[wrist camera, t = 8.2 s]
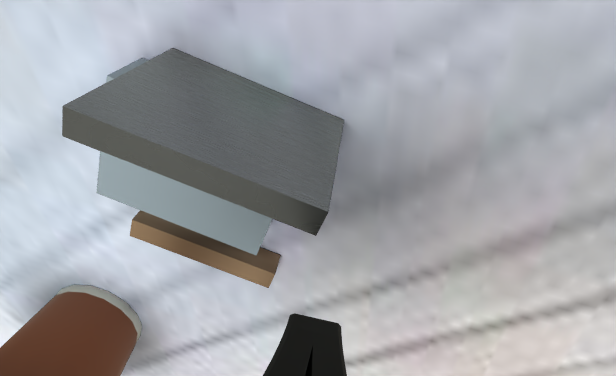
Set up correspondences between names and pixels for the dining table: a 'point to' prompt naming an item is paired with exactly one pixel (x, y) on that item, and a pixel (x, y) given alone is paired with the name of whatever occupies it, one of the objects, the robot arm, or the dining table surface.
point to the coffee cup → (74, 336)
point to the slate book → (179, 199)
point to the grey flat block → (215, 136)
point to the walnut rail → (205, 249)
